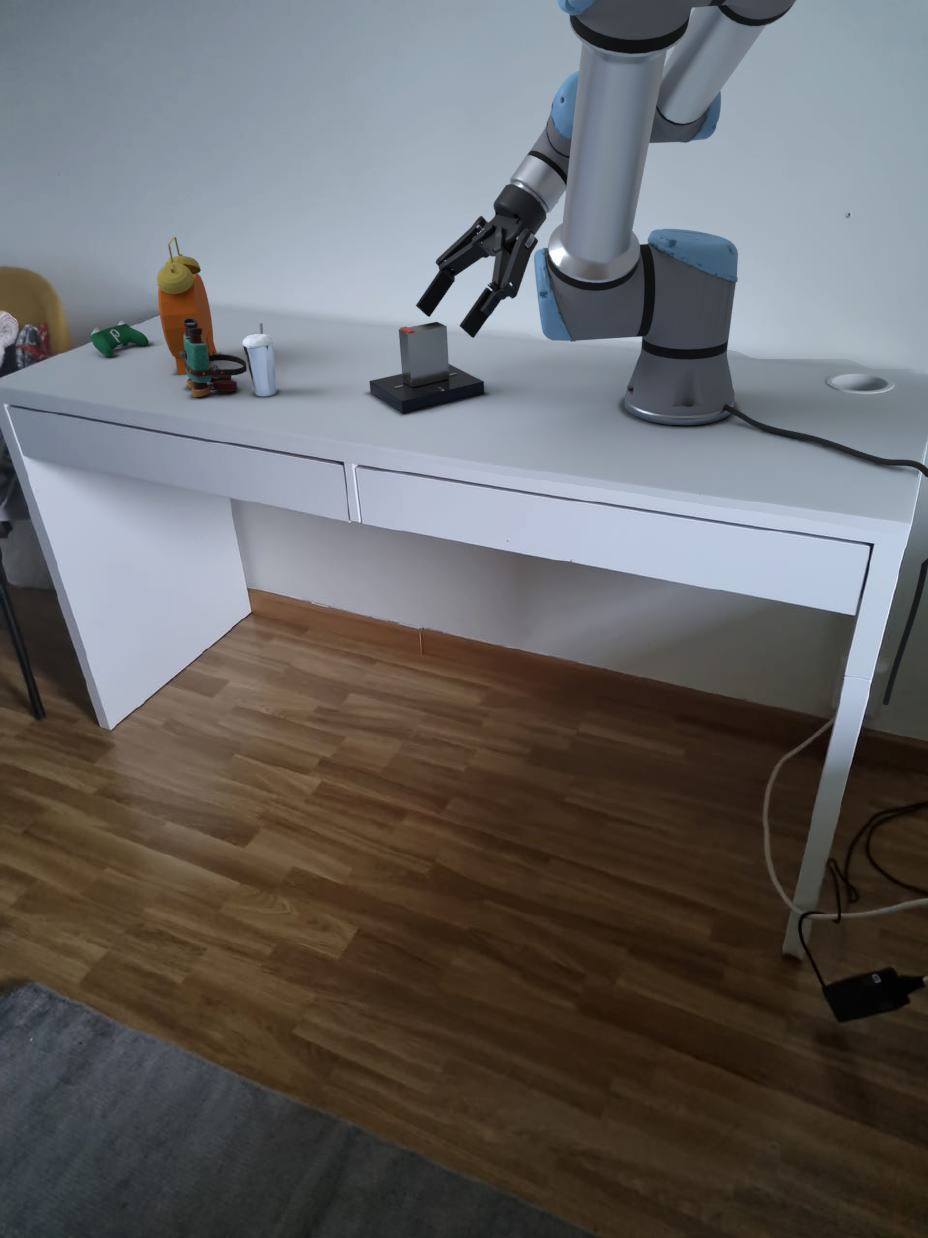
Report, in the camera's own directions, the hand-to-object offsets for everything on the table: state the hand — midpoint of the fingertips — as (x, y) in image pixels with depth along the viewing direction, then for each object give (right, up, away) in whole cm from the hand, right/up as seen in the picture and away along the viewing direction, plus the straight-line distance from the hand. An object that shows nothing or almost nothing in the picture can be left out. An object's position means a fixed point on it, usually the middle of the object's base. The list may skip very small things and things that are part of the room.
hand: (443, 321), depth 133 cm
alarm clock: (-43, 0, +21) cm, 48 cm away
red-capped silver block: (-3, -8, +3) cm, 9 cm away
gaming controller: (-60, +5, +30) cm, 67 cm away
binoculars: (-36, -7, +10) cm, 39 cm away
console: (-3, -10, +4) cm, 11 cm away
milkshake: (-28, -9, +8) cm, 30 cm away
